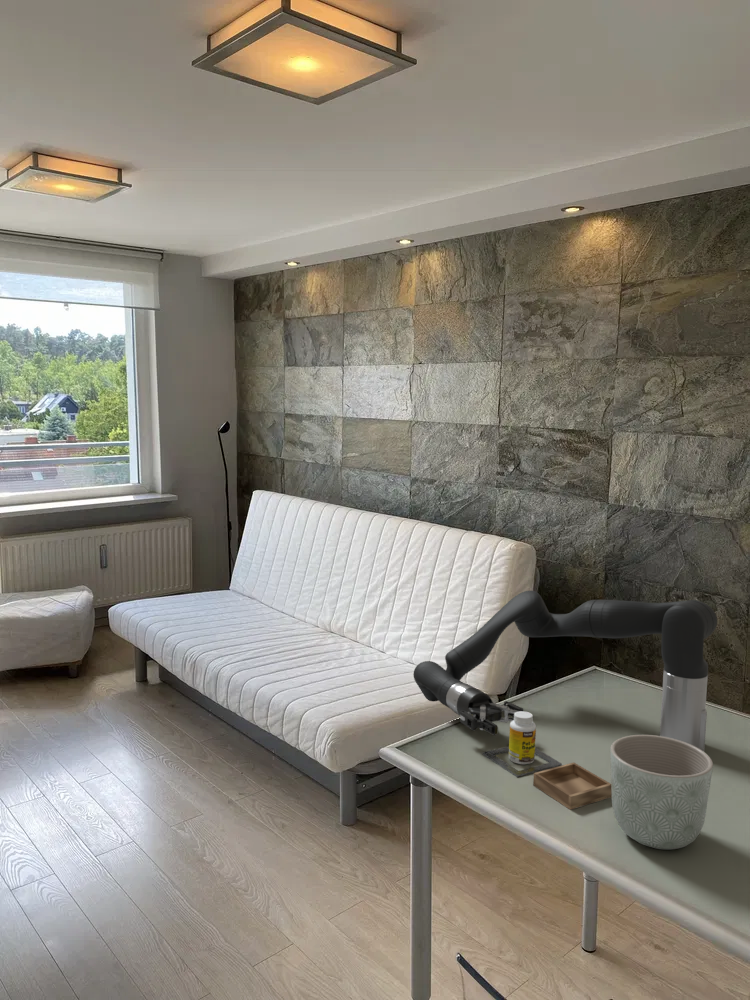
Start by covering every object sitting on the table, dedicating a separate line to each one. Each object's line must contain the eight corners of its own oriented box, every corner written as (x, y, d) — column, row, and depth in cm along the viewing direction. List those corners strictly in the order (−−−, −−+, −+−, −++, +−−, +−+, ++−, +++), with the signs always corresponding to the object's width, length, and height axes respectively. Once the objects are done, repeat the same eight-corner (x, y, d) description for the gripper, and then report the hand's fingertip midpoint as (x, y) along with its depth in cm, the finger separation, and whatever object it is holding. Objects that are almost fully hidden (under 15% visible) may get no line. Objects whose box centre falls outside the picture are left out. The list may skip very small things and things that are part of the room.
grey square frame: (525, 743, 174) (525, 742, 174) (561, 765, 163) (561, 763, 163) (482, 754, 168) (482, 752, 168) (517, 777, 158) (517, 775, 158)
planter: (586, 829, 138) (590, 748, 137) (642, 802, 148) (647, 727, 147) (671, 875, 125) (676, 786, 123) (726, 842, 135) (732, 759, 133)
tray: (573, 774, 159) (573, 762, 159) (611, 797, 150) (612, 784, 150) (533, 785, 154) (533, 773, 154) (570, 809, 145) (570, 796, 145)
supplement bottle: (521, 767, 162) (523, 721, 161) (503, 757, 167) (504, 712, 165) (540, 761, 165) (542, 716, 164) (521, 752, 170) (523, 707, 168)
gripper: (444, 692, 179) (486, 716, 164) (493, 682, 185) (537, 705, 171) (443, 722, 179) (485, 749, 165) (492, 712, 186) (536, 737, 172)
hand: (512, 727), depth 168 cm, fingers open, 8 cm apart
